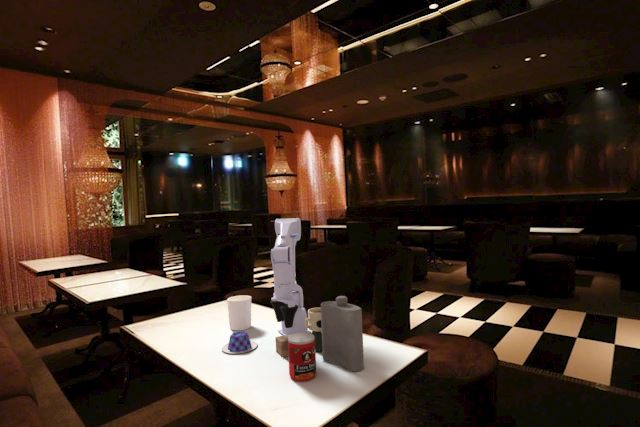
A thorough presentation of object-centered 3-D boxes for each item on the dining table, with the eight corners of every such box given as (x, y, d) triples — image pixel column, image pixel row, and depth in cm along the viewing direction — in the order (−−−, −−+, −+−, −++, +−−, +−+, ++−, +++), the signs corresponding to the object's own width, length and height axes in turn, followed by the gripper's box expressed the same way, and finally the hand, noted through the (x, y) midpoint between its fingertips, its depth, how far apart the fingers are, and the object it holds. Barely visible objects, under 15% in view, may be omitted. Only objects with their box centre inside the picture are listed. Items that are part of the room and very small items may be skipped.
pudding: (214, 351, 124) (214, 335, 124) (241, 340, 133) (240, 325, 133) (238, 358, 117) (237, 342, 117) (264, 346, 126) (264, 331, 126)
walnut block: (290, 349, 122) (289, 334, 122) (295, 354, 118) (295, 338, 118) (276, 352, 120) (275, 337, 120) (281, 357, 115) (280, 341, 115)
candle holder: (240, 332, 141) (239, 302, 140) (223, 329, 146) (221, 299, 146) (257, 325, 149) (256, 296, 149) (240, 322, 154) (239, 294, 154)
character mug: (313, 356, 115) (311, 315, 115) (300, 350, 121) (298, 311, 120) (339, 347, 122) (337, 308, 122) (325, 341, 127) (324, 304, 127)
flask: (369, 366, 106) (366, 298, 106) (356, 373, 102) (353, 303, 101) (332, 353, 117) (330, 291, 116) (319, 359, 113) (317, 295, 112)
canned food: (294, 384, 97) (293, 344, 97) (285, 373, 104) (283, 335, 104) (321, 378, 100) (319, 338, 100) (310, 367, 107) (308, 330, 107)
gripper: (264, 281, 123) (265, 320, 123) (279, 288, 110) (281, 332, 110) (283, 278, 126) (285, 317, 127) (300, 285, 114) (302, 328, 114)
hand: (284, 324), depth 119 cm, fingers open, 7 cm apart
